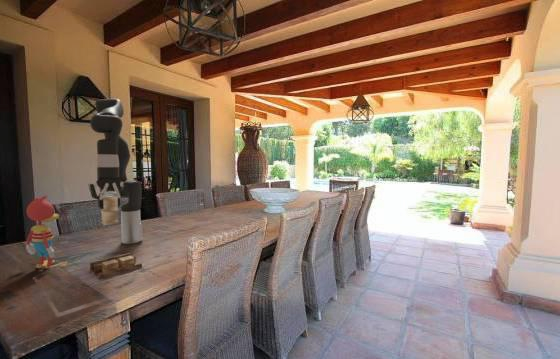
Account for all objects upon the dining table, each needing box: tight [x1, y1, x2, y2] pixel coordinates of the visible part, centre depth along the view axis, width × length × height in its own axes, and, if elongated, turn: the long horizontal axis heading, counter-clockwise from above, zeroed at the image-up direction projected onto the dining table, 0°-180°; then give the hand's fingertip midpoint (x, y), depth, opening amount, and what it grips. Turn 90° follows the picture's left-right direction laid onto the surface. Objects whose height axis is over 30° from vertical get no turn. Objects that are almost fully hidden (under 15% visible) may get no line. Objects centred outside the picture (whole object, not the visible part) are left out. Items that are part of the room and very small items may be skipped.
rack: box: [88, 252, 144, 280], centre depth 113 cm, size 16×13×4 cm
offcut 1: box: [102, 259, 119, 273], centre depth 109 cm, size 4×4×4 cm
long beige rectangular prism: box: [100, 195, 119, 226], centre depth 112 cm, size 5×3×11 cm, turn 140°
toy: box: [25, 195, 69, 269], centre depth 114 cm, size 15×10×30 cm
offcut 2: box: [119, 255, 135, 268], centre depth 113 cm, size 4×4×4 cm
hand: (109, 207), depth 112 cm, fingers closed on long beige rectangular prism, 5 cm apart
